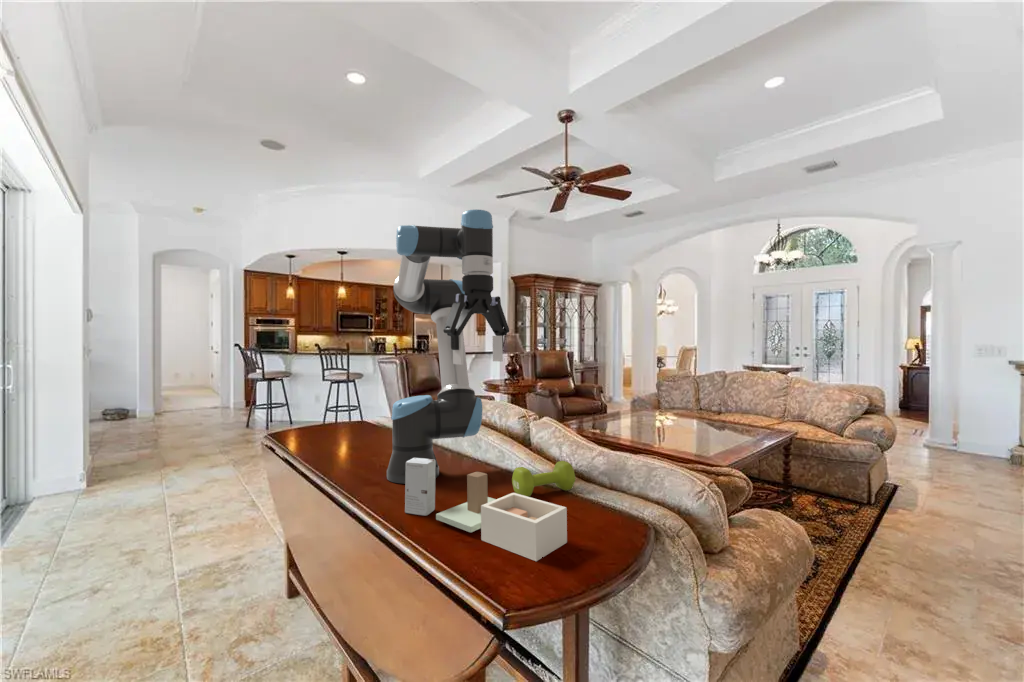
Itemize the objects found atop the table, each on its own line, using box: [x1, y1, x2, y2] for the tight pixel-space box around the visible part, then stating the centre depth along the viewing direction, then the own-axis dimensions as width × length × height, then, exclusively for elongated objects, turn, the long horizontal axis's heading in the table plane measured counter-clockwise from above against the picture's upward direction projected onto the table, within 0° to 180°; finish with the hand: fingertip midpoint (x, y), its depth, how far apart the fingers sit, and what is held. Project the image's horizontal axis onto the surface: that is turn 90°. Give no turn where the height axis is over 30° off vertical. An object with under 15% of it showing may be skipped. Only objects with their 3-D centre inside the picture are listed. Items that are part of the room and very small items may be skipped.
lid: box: [435, 471, 496, 533], centre depth 104 cm, size 15×11×10 cm
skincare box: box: [404, 458, 437, 517], centre depth 110 cm, size 6×4×12 cm
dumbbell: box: [511, 460, 576, 497], centre depth 122 cm, size 16×8×7 cm, turn 115°
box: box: [480, 492, 568, 562], centre depth 93 cm, size 14×10×7 cm
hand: (478, 362), depth 113 cm, fingers open, 13 cm apart
